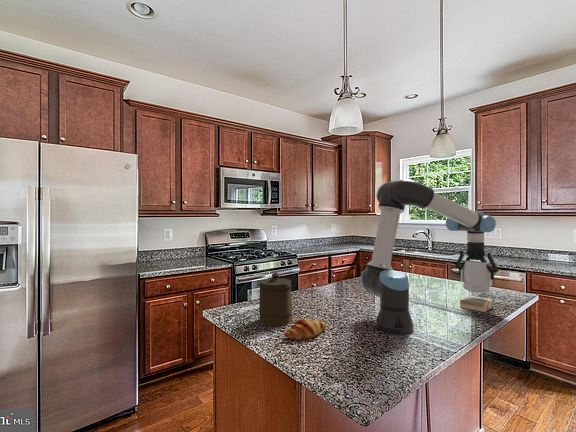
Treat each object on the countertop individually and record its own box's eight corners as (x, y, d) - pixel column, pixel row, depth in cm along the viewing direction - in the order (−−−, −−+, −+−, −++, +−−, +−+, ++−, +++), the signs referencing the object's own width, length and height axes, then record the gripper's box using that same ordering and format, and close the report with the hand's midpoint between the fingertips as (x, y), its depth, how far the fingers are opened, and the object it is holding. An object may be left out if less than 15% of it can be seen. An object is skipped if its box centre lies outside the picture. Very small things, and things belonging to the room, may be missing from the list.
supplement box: (490, 293, 154) (489, 262, 154) (470, 292, 155) (470, 262, 155) (481, 288, 163) (481, 259, 163) (463, 288, 164) (462, 259, 164)
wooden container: (285, 313, 153) (284, 269, 153) (296, 323, 139) (296, 274, 139) (255, 317, 148) (255, 271, 148) (265, 328, 134) (264, 277, 134)
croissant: (321, 335, 135) (316, 316, 138) (336, 330, 128) (330, 310, 131) (281, 346, 123) (276, 325, 126) (294, 342, 115) (288, 320, 119)
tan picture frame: (484, 312, 152) (484, 303, 151) (460, 307, 160) (460, 298, 160) (492, 307, 159) (492, 299, 158) (468, 302, 167) (468, 294, 167)
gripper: (506, 242, 152) (506, 286, 152) (453, 239, 171) (454, 279, 171) (500, 243, 147) (501, 289, 147) (447, 240, 166) (448, 281, 166)
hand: (476, 283), depth 159 cm, fingers closed on supplement box, 12 cm apart
